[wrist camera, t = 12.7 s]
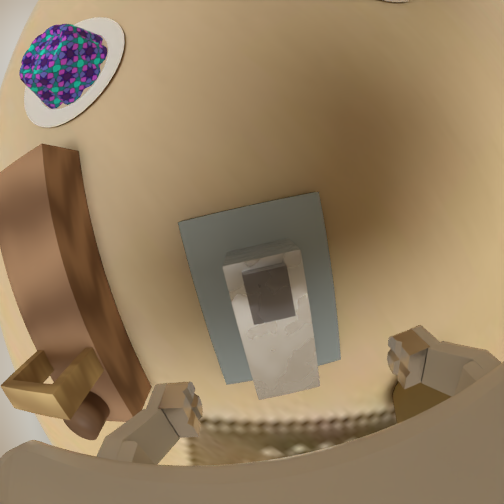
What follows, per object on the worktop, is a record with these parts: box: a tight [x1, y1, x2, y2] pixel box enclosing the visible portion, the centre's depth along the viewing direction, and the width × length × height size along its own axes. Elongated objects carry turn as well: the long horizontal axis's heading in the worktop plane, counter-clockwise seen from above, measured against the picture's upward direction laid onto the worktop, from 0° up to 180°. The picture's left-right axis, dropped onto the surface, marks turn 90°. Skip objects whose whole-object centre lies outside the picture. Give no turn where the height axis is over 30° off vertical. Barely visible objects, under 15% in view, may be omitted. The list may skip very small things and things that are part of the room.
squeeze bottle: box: [393, 383, 452, 424], centre depth 15 cm, size 8×8×18 cm
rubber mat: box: [178, 192, 341, 384], centre depth 20 cm, size 14×10×1 cm
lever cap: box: [222, 238, 320, 400], centre depth 18 cm, size 10×4×5 cm, turn 12°
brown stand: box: [0, 144, 151, 440], centre depth 15 cm, size 22×7×11 cm, turn 12°
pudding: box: [20, 17, 125, 128], centre depth 14 cm, size 12×12×5 cm
